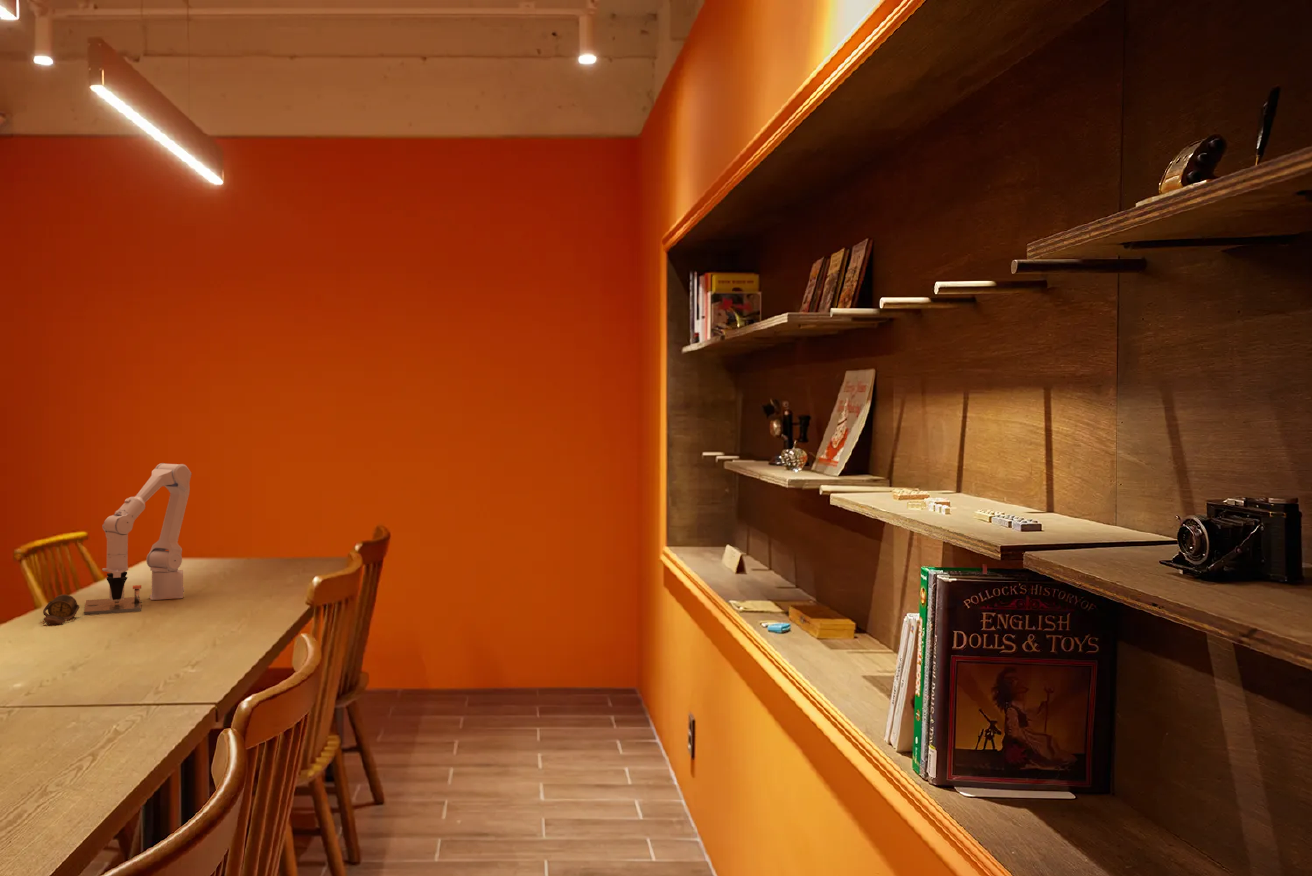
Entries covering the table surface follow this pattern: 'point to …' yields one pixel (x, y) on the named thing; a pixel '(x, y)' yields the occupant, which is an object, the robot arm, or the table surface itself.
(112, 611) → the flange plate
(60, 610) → the dark brown rounded piece
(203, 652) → the table surface
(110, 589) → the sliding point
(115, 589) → the robot arm
